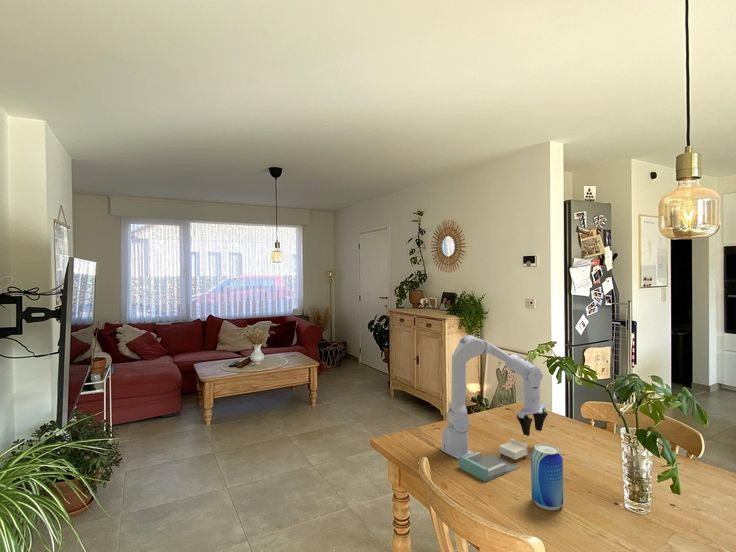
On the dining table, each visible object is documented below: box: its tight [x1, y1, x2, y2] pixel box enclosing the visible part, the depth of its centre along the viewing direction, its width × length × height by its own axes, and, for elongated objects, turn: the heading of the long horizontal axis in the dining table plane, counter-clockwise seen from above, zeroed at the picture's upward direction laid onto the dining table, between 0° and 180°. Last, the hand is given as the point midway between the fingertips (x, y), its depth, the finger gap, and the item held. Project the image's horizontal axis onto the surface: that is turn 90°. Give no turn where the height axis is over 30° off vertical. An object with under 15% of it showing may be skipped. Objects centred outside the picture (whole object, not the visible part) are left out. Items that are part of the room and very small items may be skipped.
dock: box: [458, 451, 521, 483], centre depth 138 cm, size 12×18×5 cm
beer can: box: [530, 443, 564, 511], centre depth 116 cm, size 8×8×16 cm
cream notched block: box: [498, 438, 529, 463], centre depth 145 cm, size 7×7×5 cm
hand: (532, 432), depth 151 cm, fingers open, 7 cm apart
